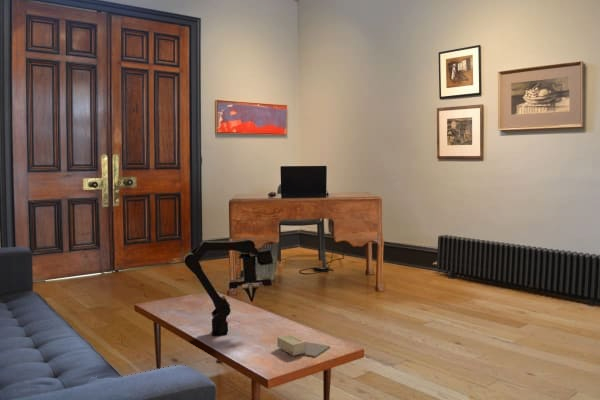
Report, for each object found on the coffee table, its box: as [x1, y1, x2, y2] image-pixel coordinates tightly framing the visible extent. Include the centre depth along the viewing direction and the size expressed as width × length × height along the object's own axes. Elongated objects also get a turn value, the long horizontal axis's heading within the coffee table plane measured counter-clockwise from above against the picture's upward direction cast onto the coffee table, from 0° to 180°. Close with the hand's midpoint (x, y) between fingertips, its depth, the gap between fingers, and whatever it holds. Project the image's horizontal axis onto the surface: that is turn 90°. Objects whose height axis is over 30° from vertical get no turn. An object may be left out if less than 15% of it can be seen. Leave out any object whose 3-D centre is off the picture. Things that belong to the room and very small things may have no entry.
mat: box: [284, 341, 331, 358], centre depth 217 cm, size 14×12×1 cm
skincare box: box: [276, 333, 307, 356], centre depth 215 cm, size 6×4×12 cm
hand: (251, 301), depth 243 cm, fingers closed
